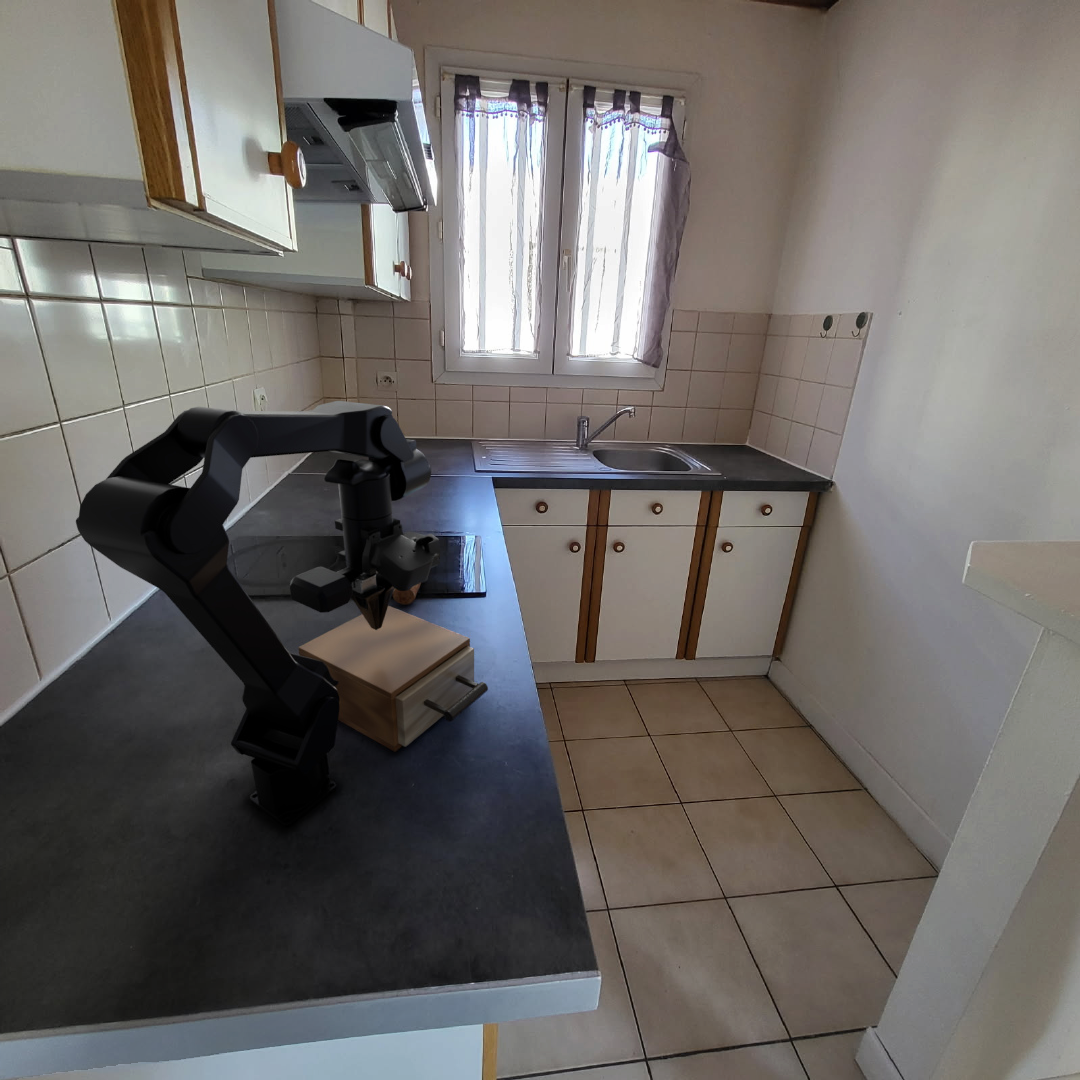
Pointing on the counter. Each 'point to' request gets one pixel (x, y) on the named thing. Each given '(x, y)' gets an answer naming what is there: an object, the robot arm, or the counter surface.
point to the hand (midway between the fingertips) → (376, 628)
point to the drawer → (438, 696)
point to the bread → (406, 595)
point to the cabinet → (380, 666)
